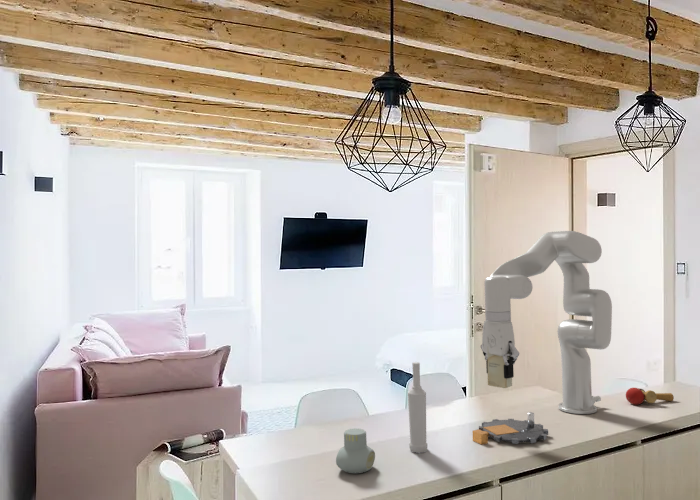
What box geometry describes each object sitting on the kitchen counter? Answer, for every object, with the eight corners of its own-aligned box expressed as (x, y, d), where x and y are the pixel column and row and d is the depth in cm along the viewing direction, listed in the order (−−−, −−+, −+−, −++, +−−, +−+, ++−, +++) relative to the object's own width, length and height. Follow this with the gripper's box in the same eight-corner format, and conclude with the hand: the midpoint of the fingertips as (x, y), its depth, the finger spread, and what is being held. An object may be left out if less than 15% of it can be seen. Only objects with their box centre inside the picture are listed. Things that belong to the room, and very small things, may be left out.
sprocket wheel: (522, 419, 182) (521, 403, 182) (563, 438, 162) (562, 420, 162) (466, 426, 176) (466, 410, 176) (502, 447, 156) (501, 428, 157)
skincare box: (487, 385, 168) (486, 346, 168) (494, 383, 172) (493, 343, 172) (506, 388, 164) (505, 347, 164) (513, 385, 167) (512, 345, 167)
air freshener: (349, 460, 152) (348, 424, 152) (377, 464, 149) (376, 426, 149) (333, 475, 142) (332, 436, 142) (363, 479, 139) (362, 439, 139)
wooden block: (513, 430, 174) (513, 420, 174) (530, 436, 168) (529, 426, 168) (469, 439, 166) (469, 429, 166) (484, 446, 160) (484, 435, 160)
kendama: (660, 401, 207) (618, 398, 203) (664, 385, 206) (622, 382, 202) (676, 410, 199) (633, 408, 195) (680, 394, 198) (637, 391, 195)
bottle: (427, 447, 161) (424, 361, 161) (428, 453, 156) (425, 364, 156) (409, 446, 161) (406, 361, 162) (409, 453, 156) (407, 364, 156)
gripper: (470, 315, 174) (471, 371, 174) (508, 320, 159) (510, 382, 158) (488, 313, 178) (490, 369, 177) (528, 318, 162) (530, 379, 162)
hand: (499, 375), depth 168 cm, fingers closed on skincare box, 7 cm apart
